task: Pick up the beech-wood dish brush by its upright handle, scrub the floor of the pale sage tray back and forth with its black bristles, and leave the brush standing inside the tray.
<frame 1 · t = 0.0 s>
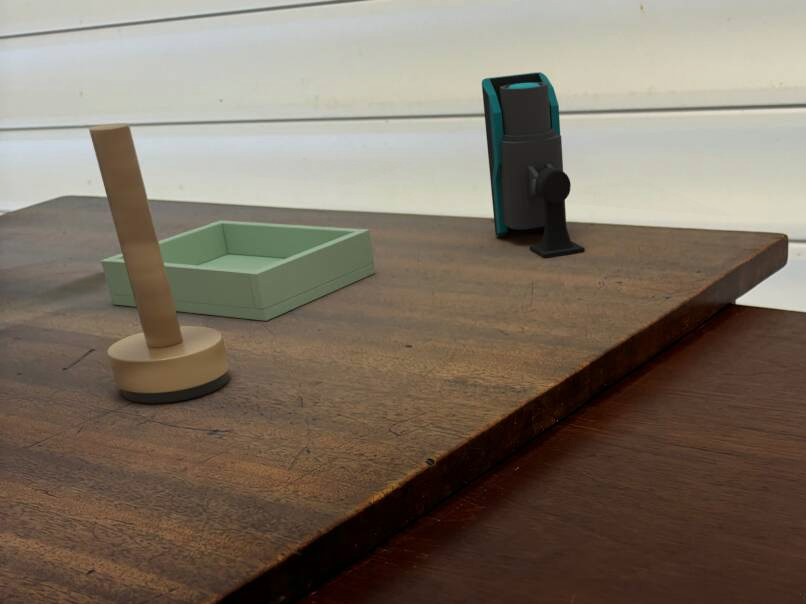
surveillance camera: (543, 245, 99), on the table
brush: (176, 385, 74), on the table
tray: (246, 288, 93), on the table
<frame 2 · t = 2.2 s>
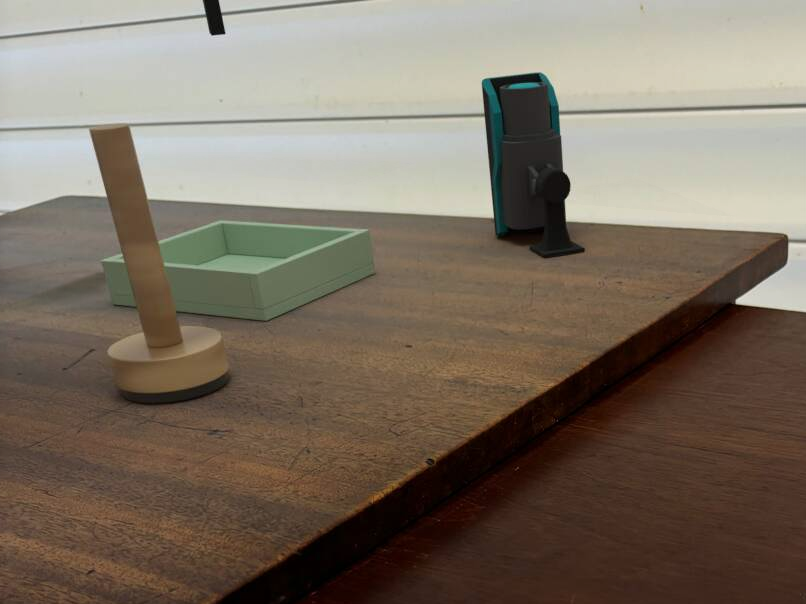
hand: (90, 47, 63), 19 cm above the table, tool pointing down, fingers open, 13 cm apart
nothing on the table moved.
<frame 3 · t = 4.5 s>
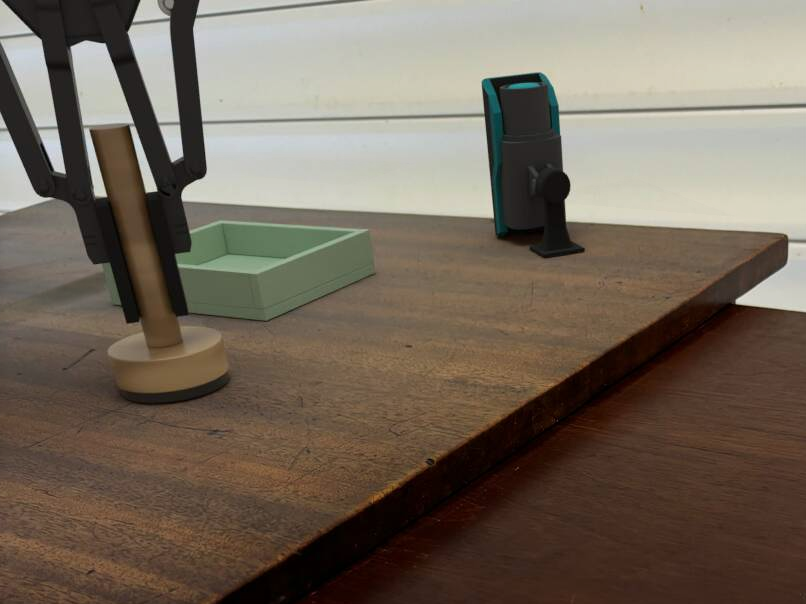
hand: (157, 313, 72), 4 cm above the table, tool pointing down, fingers closed on brush, 2 cm apart
brush: (176, 385, 74), on the table, touching gripper
everything else where it was.
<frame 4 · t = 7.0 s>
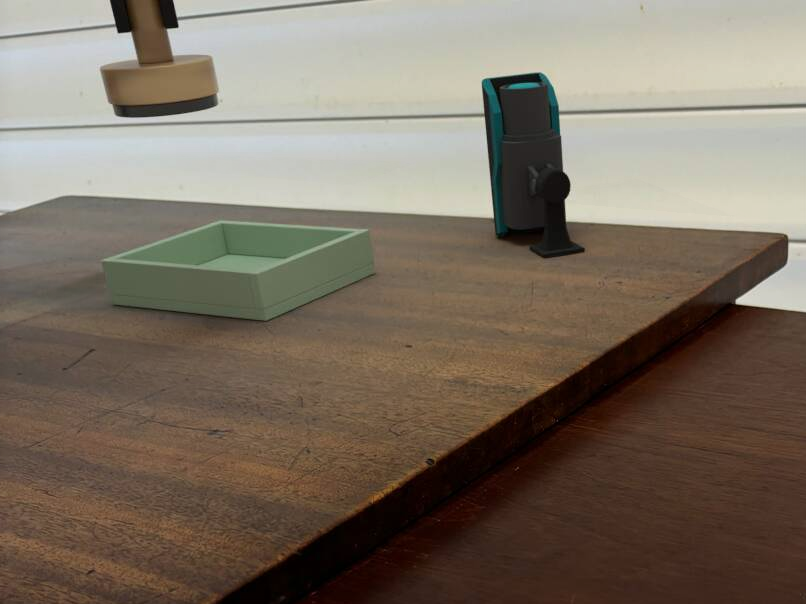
hand: (148, 28, 73), 18 cm above the table, tool pointing down, fingers closed on brush, 2 cm apart
brush: (167, 109, 76), point 14 cm above the table, touching gripper
everything else where it was.
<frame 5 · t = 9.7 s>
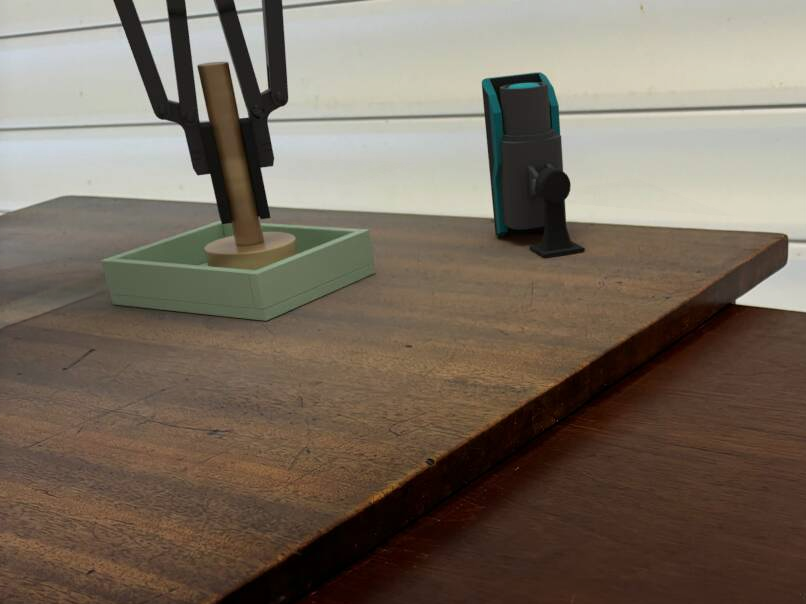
hand: (244, 217, 89), 5 cm above the table, tool pointing down, fingers closed on brush, 2 cm apart
brush: (257, 278, 92), point 1 cm above the table, touching gripper
everything else where it was.
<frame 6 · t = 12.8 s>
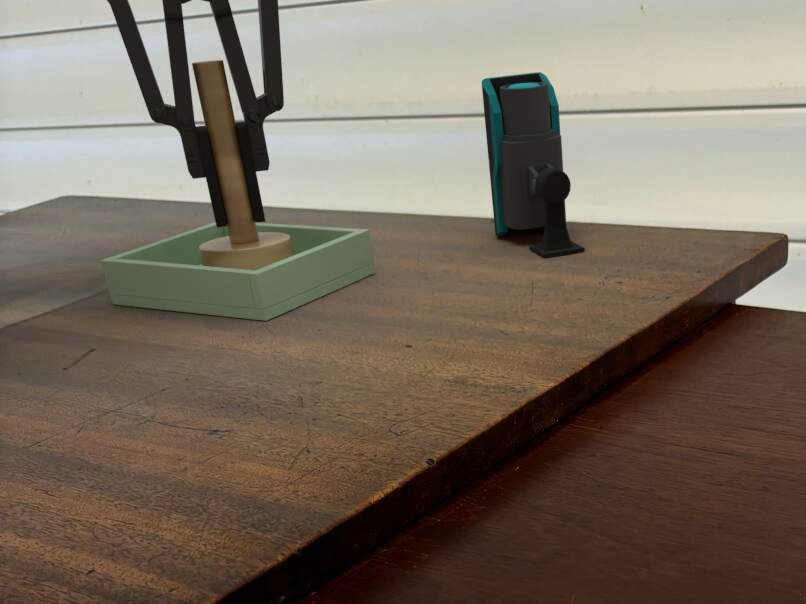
hand: (239, 220, 90), 5 cm above the table, tool pointing down, fingers closed on brush, 2 cm apart
brush: (252, 277, 92), point 1 cm above the table, touching gripper
everything else where it was.
when the fingers open (5 cm above the table, at t = 15.0 s): brush stays where it is, resting on tray.
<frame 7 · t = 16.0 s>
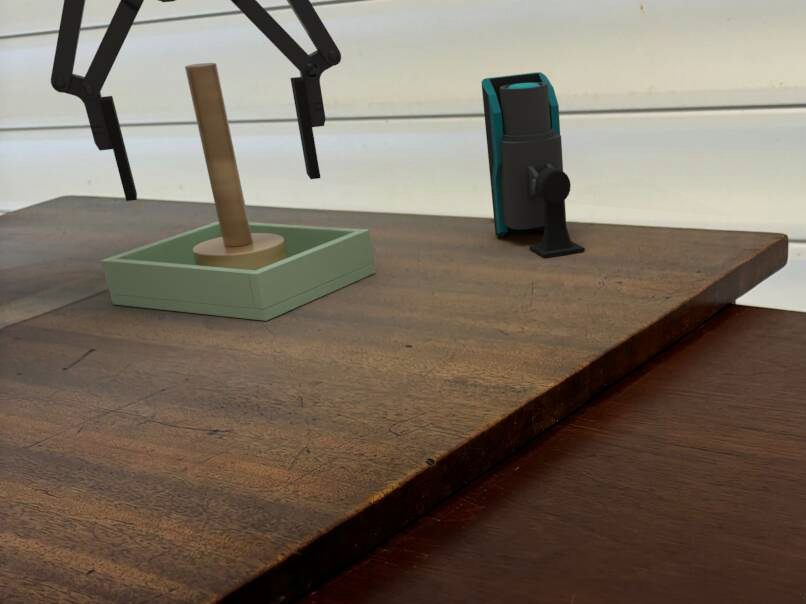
hand: (224, 187, 88), 7 cm above the table, tool pointing down, fingers open, 13 cm apart
brush: (246, 279, 92), point 1 cm above the table, touching tray
everything else where it was.
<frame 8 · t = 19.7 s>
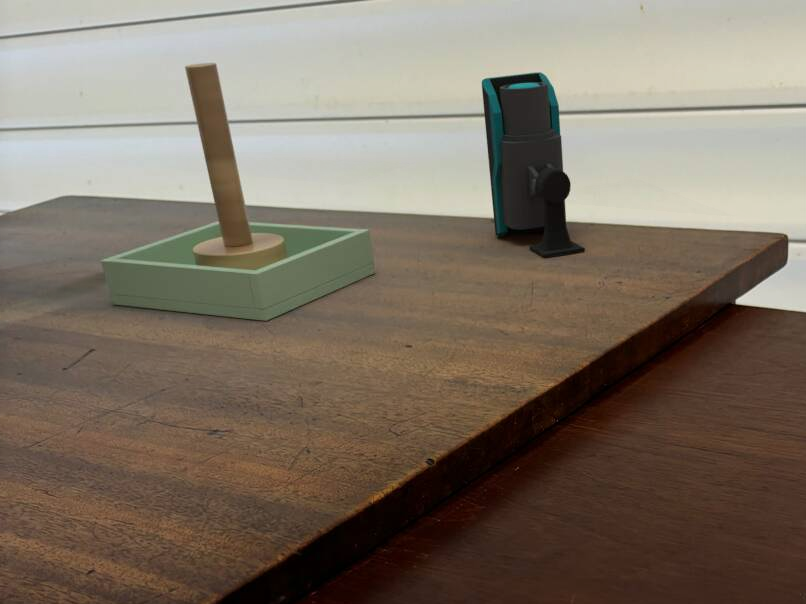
nothing on the table moved.
at the end: brush inside the target area in the tray (0.7 cm from its centre), point 0.8 cm above the tray's base; brush tilted 0°; the gripper is holding nothing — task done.
